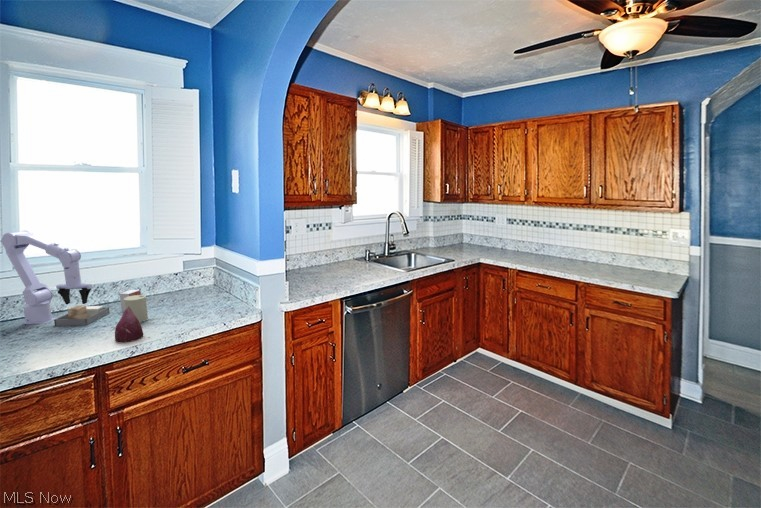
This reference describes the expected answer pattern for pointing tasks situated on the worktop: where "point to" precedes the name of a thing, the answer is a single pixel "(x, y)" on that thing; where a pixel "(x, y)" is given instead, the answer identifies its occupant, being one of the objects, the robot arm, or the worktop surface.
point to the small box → (127, 294)
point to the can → (137, 306)
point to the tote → (66, 321)
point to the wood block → (77, 312)
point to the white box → (93, 310)
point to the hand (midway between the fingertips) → (76, 303)
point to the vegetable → (128, 327)
